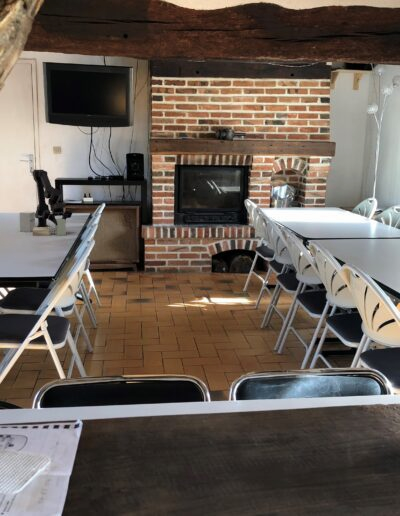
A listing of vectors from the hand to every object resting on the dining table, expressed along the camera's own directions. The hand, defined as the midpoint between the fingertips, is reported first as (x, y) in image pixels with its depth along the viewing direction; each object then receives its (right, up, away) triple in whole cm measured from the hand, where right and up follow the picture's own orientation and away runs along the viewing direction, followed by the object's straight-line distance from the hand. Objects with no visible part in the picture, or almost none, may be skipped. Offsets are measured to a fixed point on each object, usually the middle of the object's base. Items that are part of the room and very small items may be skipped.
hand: (61, 224), depth 345 cm
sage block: (-1, -6, +3) cm, 7 cm away
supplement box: (-25, -4, +11) cm, 28 cm away
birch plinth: (-13, -6, +1) cm, 15 cm away
